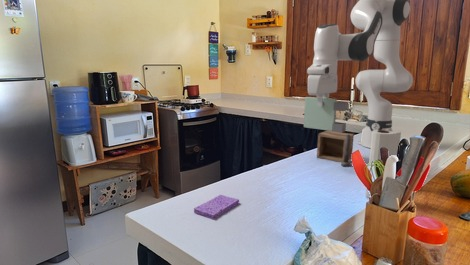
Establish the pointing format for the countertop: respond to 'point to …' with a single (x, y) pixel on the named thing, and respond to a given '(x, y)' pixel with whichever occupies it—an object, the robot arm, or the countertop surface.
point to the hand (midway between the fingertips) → (322, 105)
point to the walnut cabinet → (335, 147)
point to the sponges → (216, 206)
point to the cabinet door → (323, 114)
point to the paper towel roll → (383, 145)
